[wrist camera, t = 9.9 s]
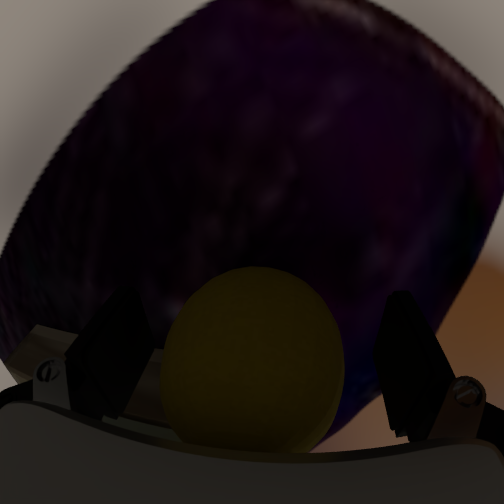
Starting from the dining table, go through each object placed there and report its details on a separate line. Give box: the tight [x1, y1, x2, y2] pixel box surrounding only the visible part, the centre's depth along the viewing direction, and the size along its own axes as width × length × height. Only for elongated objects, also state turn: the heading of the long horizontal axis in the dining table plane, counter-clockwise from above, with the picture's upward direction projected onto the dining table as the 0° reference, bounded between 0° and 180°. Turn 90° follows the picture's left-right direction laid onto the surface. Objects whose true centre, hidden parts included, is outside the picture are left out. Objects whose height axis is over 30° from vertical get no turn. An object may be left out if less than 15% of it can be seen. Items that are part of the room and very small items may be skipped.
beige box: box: [4, 324, 173, 430], centre depth 15 cm, size 9×16×4 cm, turn 93°
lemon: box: [159, 266, 344, 453], centre depth 8 cm, size 6×6×8 cm
